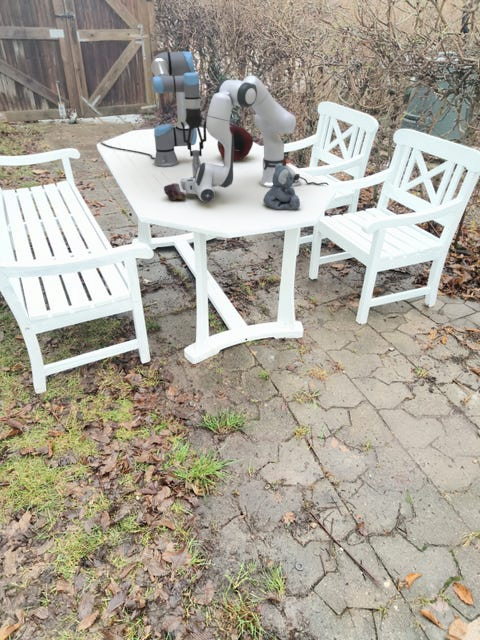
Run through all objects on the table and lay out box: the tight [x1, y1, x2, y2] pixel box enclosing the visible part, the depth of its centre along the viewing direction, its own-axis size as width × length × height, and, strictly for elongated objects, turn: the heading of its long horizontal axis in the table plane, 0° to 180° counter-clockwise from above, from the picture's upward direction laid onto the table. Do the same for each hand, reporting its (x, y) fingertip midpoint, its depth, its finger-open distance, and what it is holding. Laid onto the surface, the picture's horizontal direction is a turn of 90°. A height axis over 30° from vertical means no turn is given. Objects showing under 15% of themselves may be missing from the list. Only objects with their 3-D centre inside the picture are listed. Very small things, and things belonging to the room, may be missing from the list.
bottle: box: [191, 156, 202, 178], centre depth 244 cm, size 5×5×20 cm
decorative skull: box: [217, 125, 254, 164], centre depth 298 cm, size 21×24×25 cm
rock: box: [163, 182, 187, 201], centre depth 236 cm, size 12×9×10 cm
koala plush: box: [262, 164, 301, 211], centre depth 224 cm, size 17×18×20 cm
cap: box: [191, 149, 201, 157], centre depth 239 cm, size 4×5×2 cm
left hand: (195, 155), depth 239 cm, fingers closed on cap, 4 cm apart
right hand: (196, 178), depth 247 cm, fingers closed on bottle, 5 cm apart
